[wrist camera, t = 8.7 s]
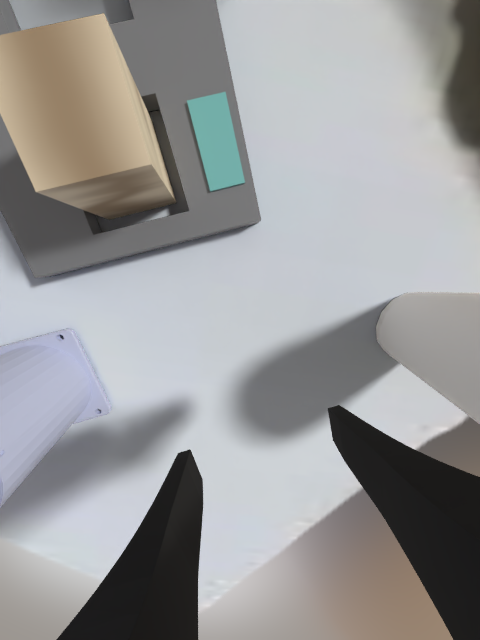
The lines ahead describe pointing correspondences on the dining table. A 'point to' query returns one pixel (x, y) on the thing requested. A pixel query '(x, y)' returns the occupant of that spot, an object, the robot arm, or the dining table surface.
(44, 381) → the robot arm
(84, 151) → the plug
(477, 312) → the foam cup
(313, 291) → the dining table surface
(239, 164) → the socket panel
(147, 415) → the dining table surface
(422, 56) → the dining table surface
